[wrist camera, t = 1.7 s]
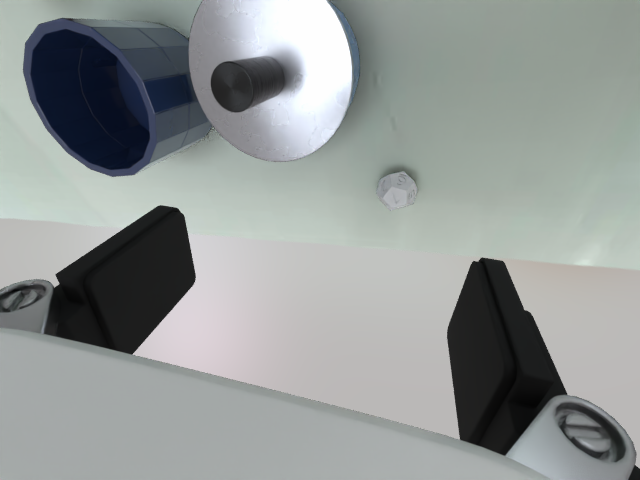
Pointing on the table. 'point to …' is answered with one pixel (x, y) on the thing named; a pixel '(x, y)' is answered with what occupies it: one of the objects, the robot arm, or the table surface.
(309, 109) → the lid
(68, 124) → the pot
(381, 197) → the game die
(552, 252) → the table surface
